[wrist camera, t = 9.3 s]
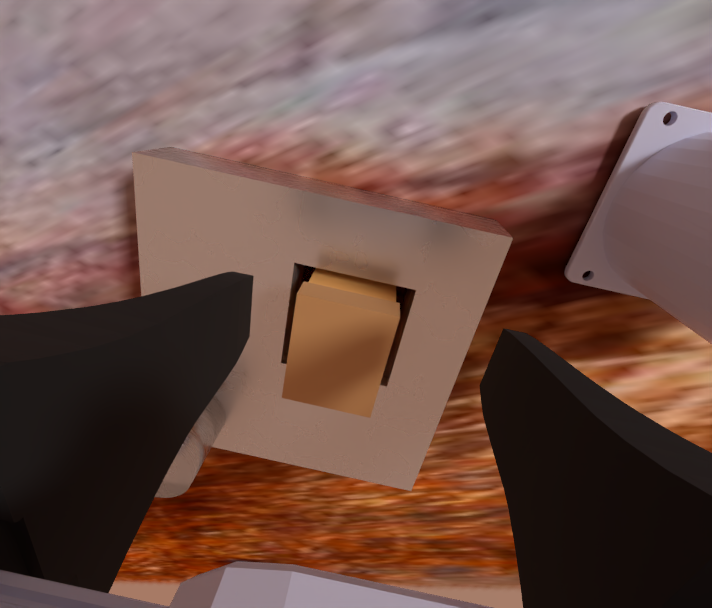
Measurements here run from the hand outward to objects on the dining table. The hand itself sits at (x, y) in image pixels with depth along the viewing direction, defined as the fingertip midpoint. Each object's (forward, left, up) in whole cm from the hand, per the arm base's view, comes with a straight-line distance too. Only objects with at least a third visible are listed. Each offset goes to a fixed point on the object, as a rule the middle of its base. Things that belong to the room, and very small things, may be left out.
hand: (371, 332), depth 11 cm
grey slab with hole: (+3, +6, -9) cm, 11 cm away
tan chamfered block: (+1, +4, -9) cm, 10 cm away
